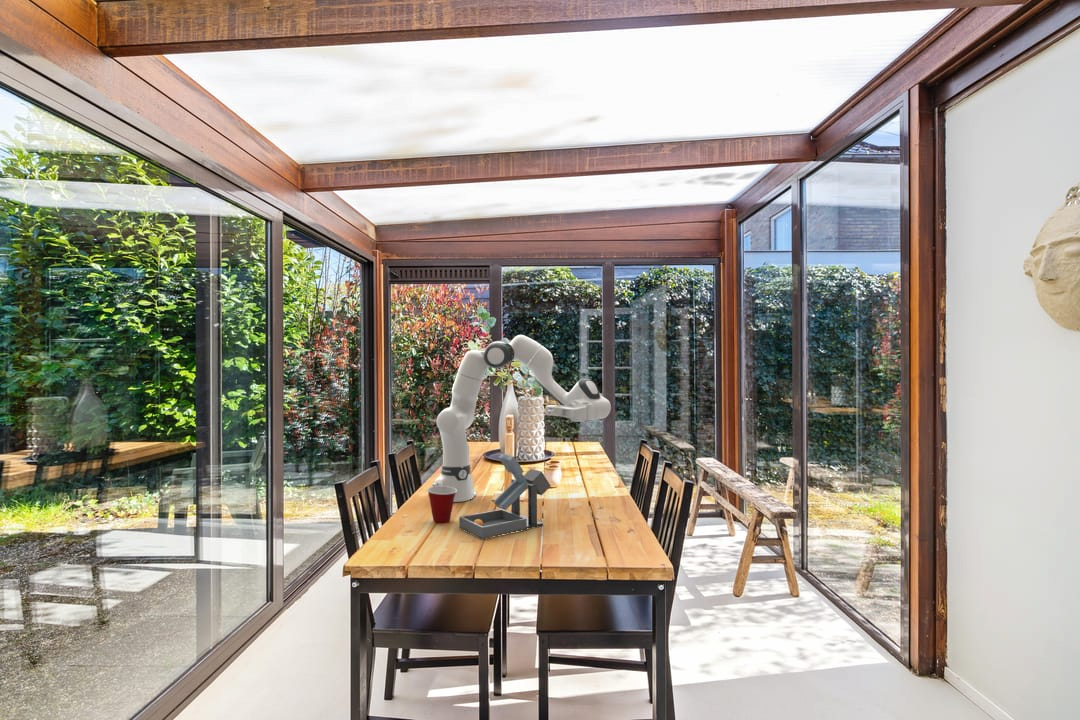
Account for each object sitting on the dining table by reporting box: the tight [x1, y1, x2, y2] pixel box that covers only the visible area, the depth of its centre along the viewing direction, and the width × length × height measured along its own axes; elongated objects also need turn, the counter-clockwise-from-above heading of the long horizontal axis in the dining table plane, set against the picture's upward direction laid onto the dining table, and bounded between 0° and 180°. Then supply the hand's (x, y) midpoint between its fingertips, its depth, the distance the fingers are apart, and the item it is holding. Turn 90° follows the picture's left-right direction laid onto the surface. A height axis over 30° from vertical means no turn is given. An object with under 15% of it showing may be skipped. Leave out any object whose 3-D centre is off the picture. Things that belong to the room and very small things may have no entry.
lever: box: [492, 453, 552, 511], centre depth 209 cm, size 8×19×20 cm
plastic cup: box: [426, 486, 457, 524], centre depth 214 cm, size 11×11×12 cm
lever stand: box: [510, 478, 544, 529], centre depth 211 cm, size 14×7×15 cm, turn 35°
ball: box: [474, 519, 483, 526], centre depth 201 cm, size 4×4×4 cm
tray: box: [458, 508, 528, 540], centre depth 204 cm, size 16×18×4 cm
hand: (549, 412), depth 229 cm, fingers closed
